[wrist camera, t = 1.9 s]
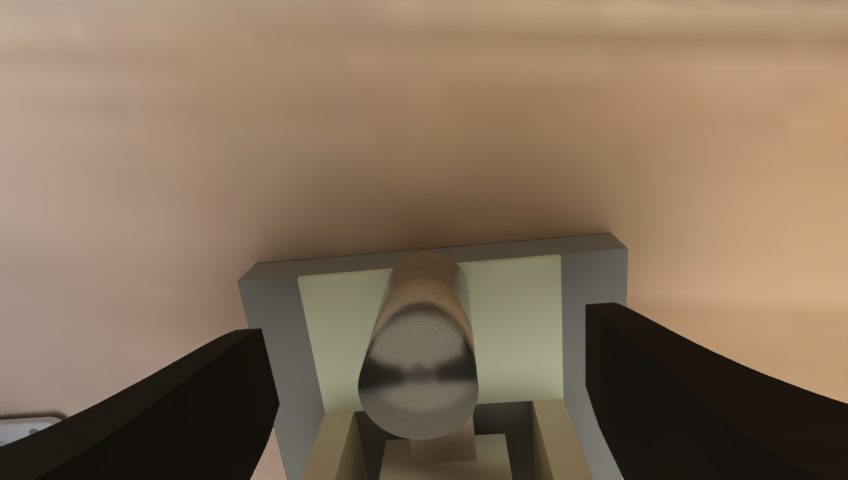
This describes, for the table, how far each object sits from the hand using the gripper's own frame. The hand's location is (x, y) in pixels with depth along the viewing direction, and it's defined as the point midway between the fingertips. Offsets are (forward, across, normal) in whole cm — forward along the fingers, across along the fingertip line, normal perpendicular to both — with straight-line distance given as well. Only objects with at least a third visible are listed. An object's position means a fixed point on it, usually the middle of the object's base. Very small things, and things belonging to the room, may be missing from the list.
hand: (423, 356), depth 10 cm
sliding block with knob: (+4, 0, +4) cm, 6 cm away
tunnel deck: (+6, 0, +7) cm, 9 cm away
